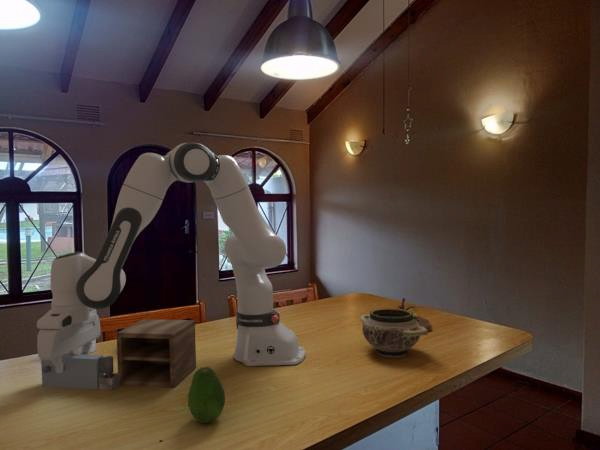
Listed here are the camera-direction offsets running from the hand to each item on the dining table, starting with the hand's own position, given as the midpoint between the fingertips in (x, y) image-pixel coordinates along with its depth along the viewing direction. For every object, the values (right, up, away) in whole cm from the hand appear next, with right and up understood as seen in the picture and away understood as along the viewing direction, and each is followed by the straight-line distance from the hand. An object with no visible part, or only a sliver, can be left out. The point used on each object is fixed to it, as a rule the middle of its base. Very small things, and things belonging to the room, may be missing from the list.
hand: (73, 365), depth 115 cm
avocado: (+40, -6, -21) cm, 46 cm away
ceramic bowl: (+89, -3, +21) cm, 92 cm away
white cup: (-11, -5, +28) cm, 30 cm away
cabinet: (+19, -5, +4) cm, 20 cm away
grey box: (+2, -6, -1) cm, 6 cm away
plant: (+100, -2, +50) cm, 112 cm away
